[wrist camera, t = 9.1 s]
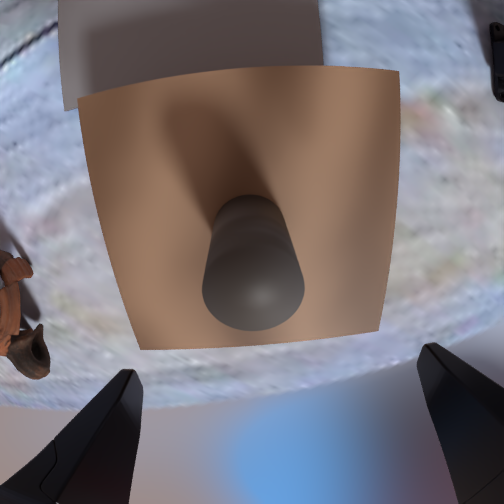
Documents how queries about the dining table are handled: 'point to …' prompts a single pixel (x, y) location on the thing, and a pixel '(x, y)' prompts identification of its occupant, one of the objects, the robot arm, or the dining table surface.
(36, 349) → the brown curved piece
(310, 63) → the felt mat
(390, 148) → the walnut lid
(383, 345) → the dining table surface
